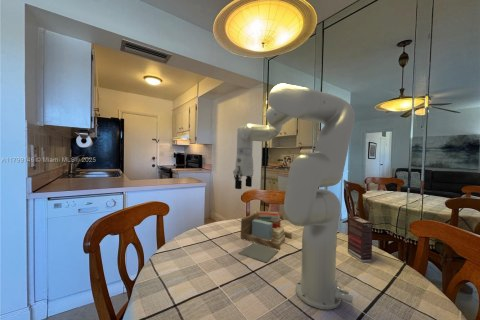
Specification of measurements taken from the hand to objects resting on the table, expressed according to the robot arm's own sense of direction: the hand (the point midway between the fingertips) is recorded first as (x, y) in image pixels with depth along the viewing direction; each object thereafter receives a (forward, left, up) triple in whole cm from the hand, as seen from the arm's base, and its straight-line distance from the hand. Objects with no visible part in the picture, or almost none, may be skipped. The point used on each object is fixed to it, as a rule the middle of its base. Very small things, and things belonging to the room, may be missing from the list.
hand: (243, 187), depth 96 cm
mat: (-12, +5, -26) cm, 29 cm away
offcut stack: (-14, -11, -27) cm, 32 cm away
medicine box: (+1, -28, -27) cm, 39 cm away
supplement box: (-48, -17, -27) cm, 57 cm away
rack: (-7, -11, -26) cm, 29 cm away
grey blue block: (-5, -11, -27) cm, 29 cm away
